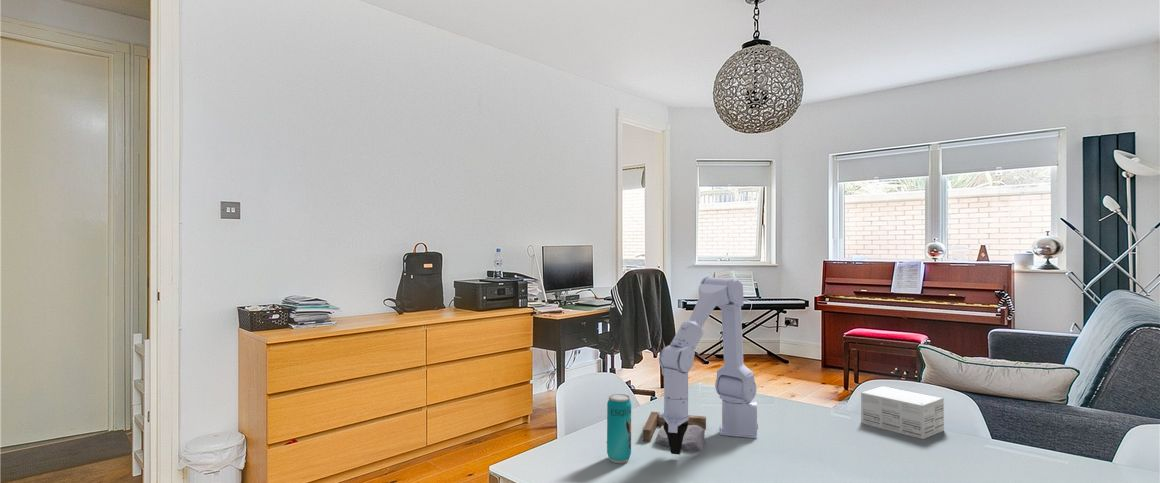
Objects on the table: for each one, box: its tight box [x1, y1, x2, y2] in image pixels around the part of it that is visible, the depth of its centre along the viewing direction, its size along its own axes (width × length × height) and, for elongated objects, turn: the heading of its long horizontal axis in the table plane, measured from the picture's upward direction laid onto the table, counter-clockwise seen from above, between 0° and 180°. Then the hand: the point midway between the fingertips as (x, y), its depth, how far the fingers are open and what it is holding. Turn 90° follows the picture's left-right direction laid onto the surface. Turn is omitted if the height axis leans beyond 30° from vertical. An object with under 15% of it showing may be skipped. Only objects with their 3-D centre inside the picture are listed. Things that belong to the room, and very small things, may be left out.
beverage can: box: [606, 393, 632, 464], centre depth 129 cm, size 6×6×15 cm
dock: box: [642, 411, 707, 443], centre depth 147 cm, size 16×16×3 cm
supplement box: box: [860, 385, 945, 440], centre depth 155 cm, size 17×13×9 cm
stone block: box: [656, 425, 706, 452], centre depth 141 cm, size 12×5×10 cm
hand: (675, 453), depth 130 cm, fingers closed
